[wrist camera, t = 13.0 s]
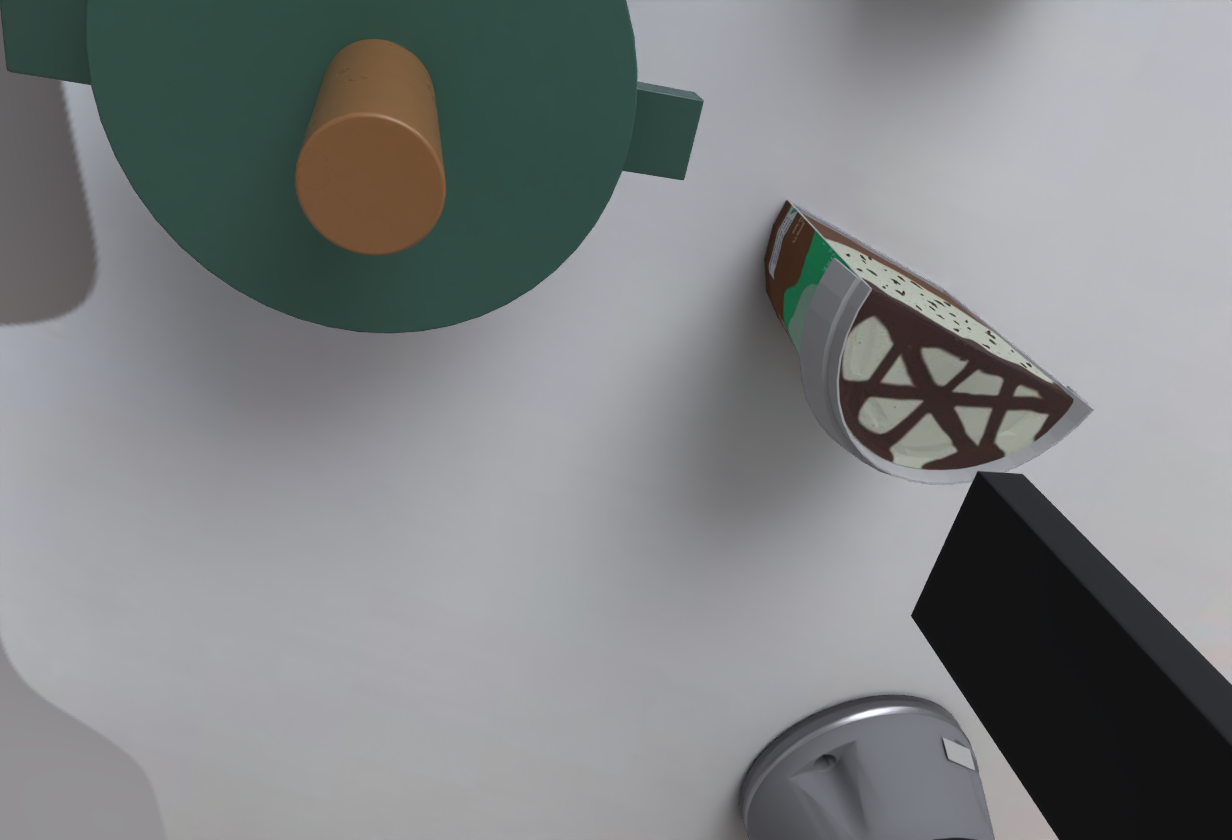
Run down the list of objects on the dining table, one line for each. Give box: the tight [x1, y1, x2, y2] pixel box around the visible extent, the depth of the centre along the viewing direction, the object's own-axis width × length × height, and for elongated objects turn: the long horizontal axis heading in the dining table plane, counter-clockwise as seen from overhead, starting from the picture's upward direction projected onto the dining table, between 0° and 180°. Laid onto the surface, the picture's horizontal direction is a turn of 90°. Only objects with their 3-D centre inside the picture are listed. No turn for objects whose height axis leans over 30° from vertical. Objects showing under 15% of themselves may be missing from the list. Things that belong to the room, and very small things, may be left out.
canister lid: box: [86, 0, 638, 333], centre depth 21 cm, size 14×14×9 cm
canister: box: [0, 0, 704, 180], centre depth 28 cm, size 13×18×10 cm
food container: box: [764, 200, 1094, 485], centre depth 38 cm, size 12×6×10 cm, turn 60°
